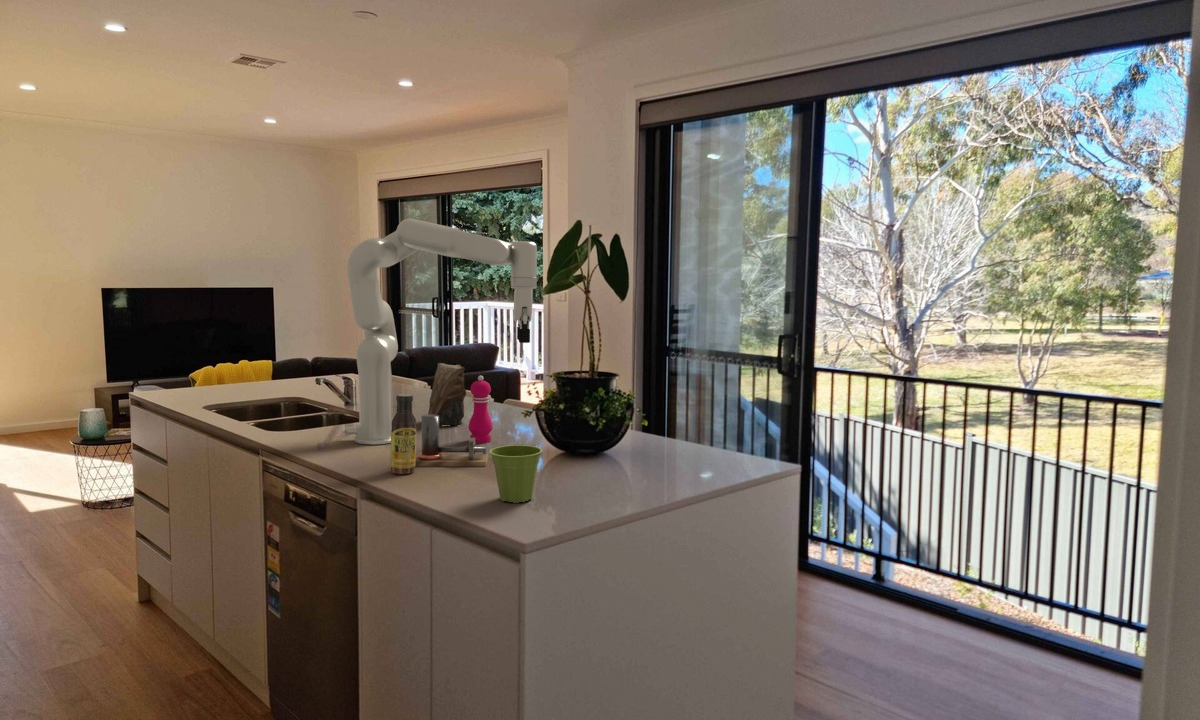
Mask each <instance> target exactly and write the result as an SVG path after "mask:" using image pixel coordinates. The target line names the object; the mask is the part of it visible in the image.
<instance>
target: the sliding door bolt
mask: <svg viewBox="0 0 1200 720" xmlns="http://www.w3.org/2000/svg"><path fill="white" fill-rule="evenodd" d="M474 452H475V453H482V454H487V447H486V446H480V447H479V446H475V447H474ZM444 453H469V446H440V427H439V415H428V414H422V415H421V452H419V453H417V454H418V458H419V459H421V460H437V459H441V458H443V454H444Z"/></svg>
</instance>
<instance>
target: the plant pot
mask: <svg viewBox="0 0 1200 720" xmlns="http://www.w3.org/2000/svg"><path fill="white" fill-rule="evenodd" d="M488 452H489V453H488V454H490V455H491V459H492V463H493V465H494V470H495V476H496V482H497V489H498V494H499V498H500V500H501V501H502V502H504V501H506V502H509V503H510V502H513V503H512V504H520V503H519V502H524V503H526V502H525V501H527V502H528V501H529V500H530V499H531V500H533V494H534V489H535V484H536V483H535V481H536V475H537V470H538V469H537V468H538V464H539V462H540V455H541V454H542V453H543V449H542V448H541V447H539V446H534V445H528V444H527V445H525V444H524V445H523V444H511V445H500V446H497V447H493V448H490V450H489V451H488Z"/></svg>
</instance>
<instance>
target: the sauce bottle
mask: <svg viewBox="0 0 1200 720" xmlns="http://www.w3.org/2000/svg"><path fill="white" fill-rule="evenodd" d="M395 399H396V413H395V415H394V416H393V417H392V418H393V420H392V431H391V443H390V456H389V458H390V459H389V467H390V472H391V474H393V475H401V476H402V475H404V476H405V475H410V473H411V474H413V473H414V472H415V467H416V466H415V461H416V454H417V452H416V451H417V419H416V417H415V416H414V414H413V401H414V395H413V394H409V393H399V394H396V398H395Z"/></svg>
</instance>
